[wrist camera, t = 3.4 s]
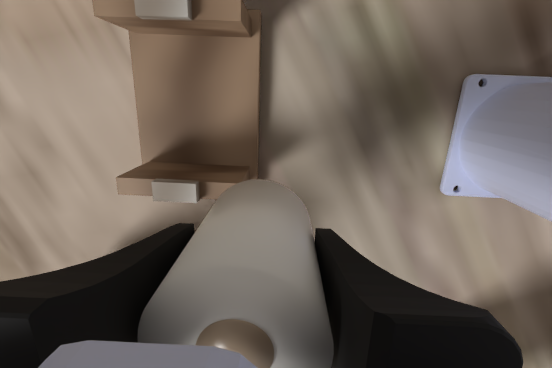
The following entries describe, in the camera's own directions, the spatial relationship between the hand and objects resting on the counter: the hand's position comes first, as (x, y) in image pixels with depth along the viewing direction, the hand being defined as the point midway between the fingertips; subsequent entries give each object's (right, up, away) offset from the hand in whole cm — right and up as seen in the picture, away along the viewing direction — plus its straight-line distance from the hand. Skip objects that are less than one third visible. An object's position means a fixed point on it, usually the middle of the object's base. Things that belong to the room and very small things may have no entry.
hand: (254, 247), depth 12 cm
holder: (-4, +8, +8) cm, 12 cm away
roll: (0, +1, +2) cm, 2 cm away
